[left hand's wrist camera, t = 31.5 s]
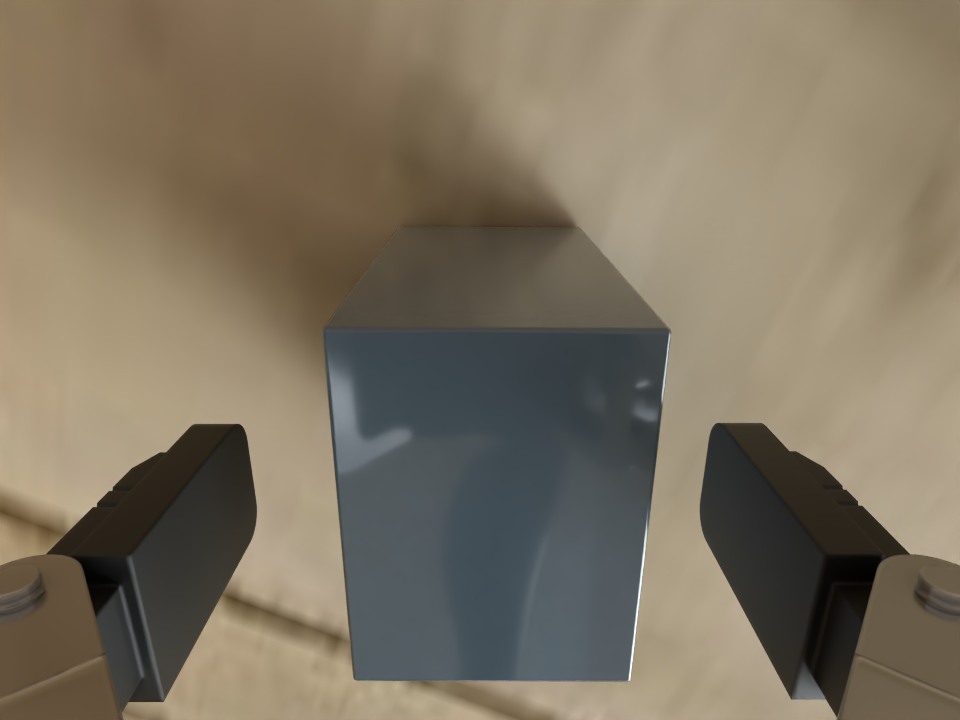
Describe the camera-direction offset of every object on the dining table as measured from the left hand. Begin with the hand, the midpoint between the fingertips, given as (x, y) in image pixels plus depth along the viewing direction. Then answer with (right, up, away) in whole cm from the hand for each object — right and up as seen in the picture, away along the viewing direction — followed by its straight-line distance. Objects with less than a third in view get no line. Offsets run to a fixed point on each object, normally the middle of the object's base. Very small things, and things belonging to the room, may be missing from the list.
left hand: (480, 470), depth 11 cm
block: (0, +2, +6) cm, 7 cm away
